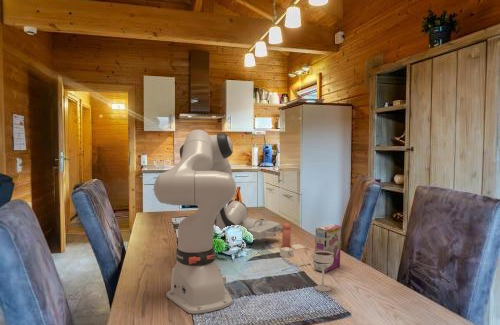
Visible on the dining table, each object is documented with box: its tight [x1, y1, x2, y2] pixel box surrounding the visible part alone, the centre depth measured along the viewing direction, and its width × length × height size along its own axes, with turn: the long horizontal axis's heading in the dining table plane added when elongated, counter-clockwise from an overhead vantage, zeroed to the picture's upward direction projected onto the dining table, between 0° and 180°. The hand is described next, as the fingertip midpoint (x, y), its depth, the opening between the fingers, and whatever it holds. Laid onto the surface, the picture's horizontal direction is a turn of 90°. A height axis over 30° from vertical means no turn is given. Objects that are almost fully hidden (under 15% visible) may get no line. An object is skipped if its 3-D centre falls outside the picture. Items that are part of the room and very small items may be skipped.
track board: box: [252, 243, 309, 258], centre depth 149 cm, size 10×30×1 cm, turn 119°
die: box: [279, 247, 294, 259], centre depth 141 cm, size 4×4×4 cm
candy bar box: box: [313, 223, 342, 274], centre depth 129 cm, size 11×5×16 cm, turn 135°
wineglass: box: [312, 249, 334, 292], centre depth 111 cm, size 7×7×12 cm
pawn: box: [280, 222, 292, 249], centre depth 151 cm, size 5×5×12 cm
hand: (279, 232), depth 153 cm, fingers open, 8 cm apart
